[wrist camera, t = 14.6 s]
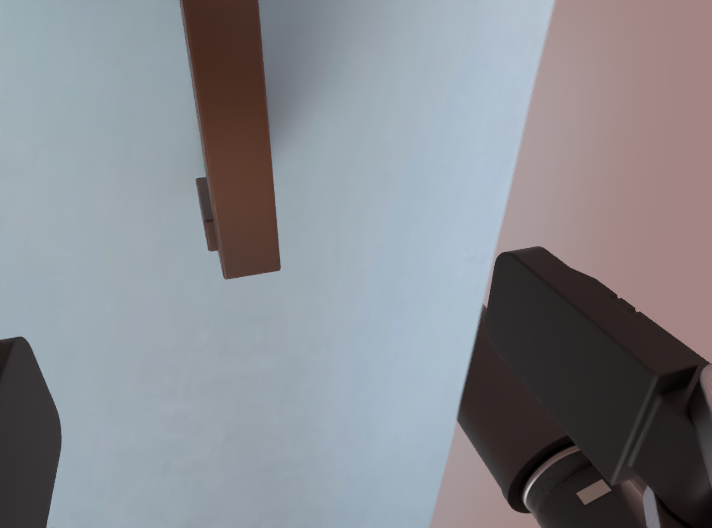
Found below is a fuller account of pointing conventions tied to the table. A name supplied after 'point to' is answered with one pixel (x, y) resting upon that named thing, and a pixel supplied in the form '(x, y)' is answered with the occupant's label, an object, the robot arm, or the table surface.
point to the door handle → (233, 134)
